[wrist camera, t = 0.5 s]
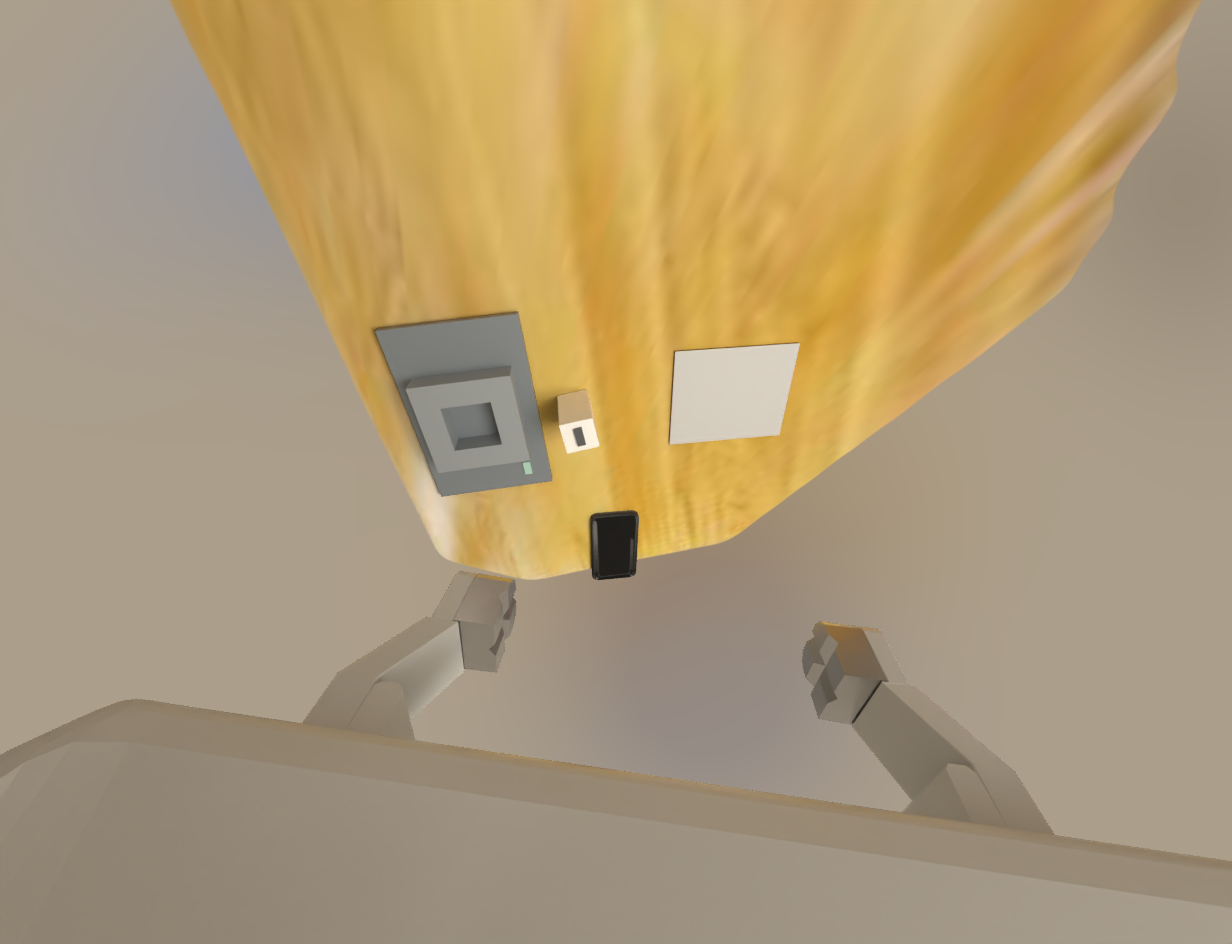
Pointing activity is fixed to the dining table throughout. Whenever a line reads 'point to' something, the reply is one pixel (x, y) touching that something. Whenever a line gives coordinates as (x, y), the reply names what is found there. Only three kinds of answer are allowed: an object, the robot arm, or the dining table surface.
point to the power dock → (475, 417)
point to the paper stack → (730, 392)
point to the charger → (577, 421)
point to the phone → (614, 544)
